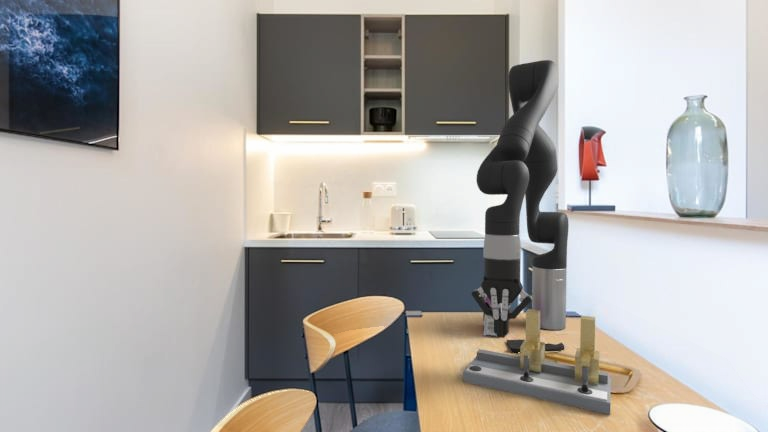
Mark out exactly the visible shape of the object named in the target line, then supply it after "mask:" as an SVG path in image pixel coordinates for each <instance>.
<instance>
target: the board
mask: <svg viewBox="0 0 768 432" xmlns="http://www.w3.org/2000/svg"><path fill="white" fill-rule="evenodd" d="M611 379H612V377H611V376H609V372H608V371H604V370H603V371H602V370H599V382H598V385H594V384H589V383H588V392H584V391H582V382H578V381H575V365H571V364H564V363H558V362H554V361H552V362H551V361H547V360H545V361H543V362H542V371H541V372H536V371H531V370H529V378H525V377H524V369H521V368H520V355H514V354H510V353H509V354H508V353H503V352H499V351H498V352H497V351H491V350H486V349H478V350H477V351H476V356H475V357H474V358H473V360H471V362H470V363H469V364H468V365H467V366H466V368H464V370H463V371H462V382H463V383H468V384H472V385H476V386H481V387H485V388H490V389H495V390H498V391H503V392H507V393H512V394H515V395H516V394H517V395H521V396H526V397H530V398H535V399H538V400H542V401H543V400H544V401H548V402H552V403H556V404H561V405H564V406H565V405H566V406H569V407H575V408H579V409H584V410H587V411H593V412H597V413H600V414H601V413H602V414H606V415H611V389H612V388H611V384H612V383H611V382H612V381H611Z"/></svg>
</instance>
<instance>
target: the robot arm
mask: <svg viewBox="0 0 768 432" xmlns="http://www.w3.org/2000/svg"><path fill="white" fill-rule="evenodd" d="M507 84H508V92H509V97H510V103H511V108H512V112H513V115H511V116H510V117H509V118H508V120H506V121H505V124H504V125H503V127H502V129H501V131H500V135H499V137H498V140H497V142H496V145H495V146H494V147H493V148H492V149H491V151H489V153H488V155H486V157H485V158H484V160H482V162H481V164H480V166H479V167H478V170H477V172H476V173H477V174H476V186H477V188H478V190H479V191H480V192H481V193H483V194H484V195H490V196H491V195H492V196H493V195H495V196H497V195H499V196H500V195H503V196H504V195H507V196H506V198H505V199H504V202H503V203H501V204H498V205H493V206H489V207H487V208H486V210H485V213H484V214H485V215H484V240H483V241H484V242H483V250H482V252H483V253H482V255H483V277H482V278H483V279H482V281H481V284H480V286H479V288H477V289H474V290H472V292H471V296H472V298H473V300H474V301H475V302H476V303H477V304H478V306H479V307H480V309H481V310H482V312H484V313H485V314H486V315H487V316H491V317H493V319H494V333H495V334H497V337H496V338H499V337H500V338H503V339H504V338H505V337H507V336H508V334H509V331H510V320H514V319H516V318H517V317H518V316H519V315H520V313H522V312H523V311H524V309H525V308H526V307H527V306H528V305H529V304H530V303H531V309H533V310H540V329H542V330H543V329H545V330H549V331H550V330H553V331H555V330H556V331H557V330H559V331H560V330H563V329H565V328H566V327H567V326H566V325H567V321H566V319H567V268H568V267H567V263H568V262H567V261H568V237H569V218H568V215H567V214H566V213H565V212H563V211H562V212H561V211H540V203H541V201H542V199H543V198H544V196H545V193H546V191H548V188H549V187H550V186H551V184H552V183H553V181H554V179H555V177H556V176H557V173H558V157H557V148H556V145H555V143H554V141H553V140H552V139H551V137H550V136H549V135H548V134H547V133H546V132H545V130H544V128H542V127H541V125H540V122H541V120H542V119H543V117H544V115H545V114H546V112H547V110H548V108H549V106H550V105H551V103H552V101H553V100H554V97H555V95H556V93H557V89H558V86H559V72H558V67H557V65H556V62H555V61H552V60H549V59H545V60H543V59H542V60H537V61H531V62H526V63H520V64H516V65H513V66H512V67H511V68H510V69H509V71H508V78H507ZM524 199H525V211H526V213H525V214H526V228H527V229H526V231H527V236H528V238H529V240H530V241H531V242H532V243H535V244H536V243H537V244H549V245H551V244H553V245H554V246H553V247H552V249H551V250H549V251H547V252H545V253H540V254H537V255H535V256H533V258H532V268H531V269H532V270H531V271H532V272H531V276H532V284H531V285H532V286H531V287H532V288H531V293H532V294H530V293H529V294H528V293H527V292H526V291H525V290H524V288H523V287H524V286H523V284H522V282H521V249H522V248H521V246H522V245H521V240H520V222H521V221H520V220H521V219H520V216H521V210H522V207H523V203H524ZM484 292H485V293H486V295H487V296H488V298H489V299H490V301H491V302H492V307H491V306H490V304H489V303H488V302H487V300H486V299H485V297H484V296H485V294H484ZM517 297H519V299H518V300H519V302H520V303H519V304H518V305H517V306H516V307H515V308H514V309H513V310H511V307H512V304H513V302H514V301H515V300H516V299H517ZM501 303H502V314H501Z"/></svg>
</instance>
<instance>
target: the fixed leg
mask: <svg viewBox="0 0 768 432" xmlns="http://www.w3.org/2000/svg"><path fill="white" fill-rule="evenodd" d="M595 344H596V317H595V316H589V315H581V316H580V347H577V348H576V351H575V354H574V366H575V381H578V382H582V391H584V392H588V383H589V384H594V385H598V382H599V371H600V350H595V349H596V345H595Z"/></svg>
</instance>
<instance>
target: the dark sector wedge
mask: <svg viewBox="0 0 768 432" xmlns="http://www.w3.org/2000/svg"><path fill="white" fill-rule="evenodd" d="M524 340H525V339H506V346H507V348H508V349H509V350H510V353H511V354H518V352H520V347H521V345H522V343H523V342H524ZM561 350H563V351H565V345H564V344H563V342H560V343H548V342H547V343H545V351H559V352H562V351H561Z"/></svg>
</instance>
